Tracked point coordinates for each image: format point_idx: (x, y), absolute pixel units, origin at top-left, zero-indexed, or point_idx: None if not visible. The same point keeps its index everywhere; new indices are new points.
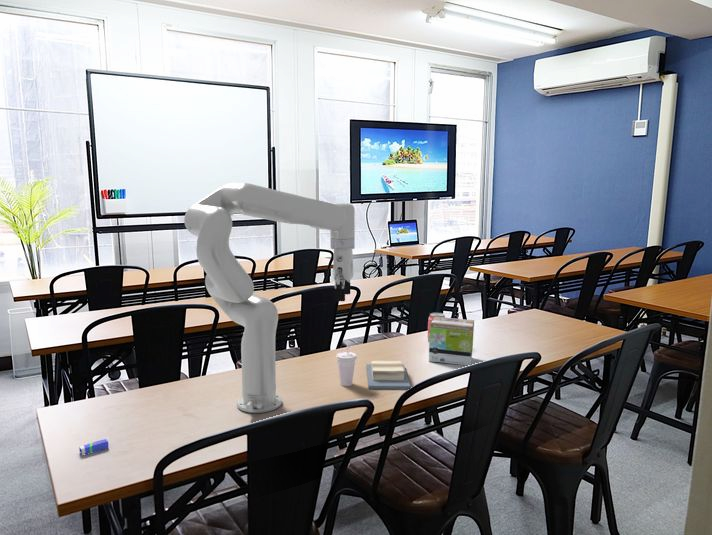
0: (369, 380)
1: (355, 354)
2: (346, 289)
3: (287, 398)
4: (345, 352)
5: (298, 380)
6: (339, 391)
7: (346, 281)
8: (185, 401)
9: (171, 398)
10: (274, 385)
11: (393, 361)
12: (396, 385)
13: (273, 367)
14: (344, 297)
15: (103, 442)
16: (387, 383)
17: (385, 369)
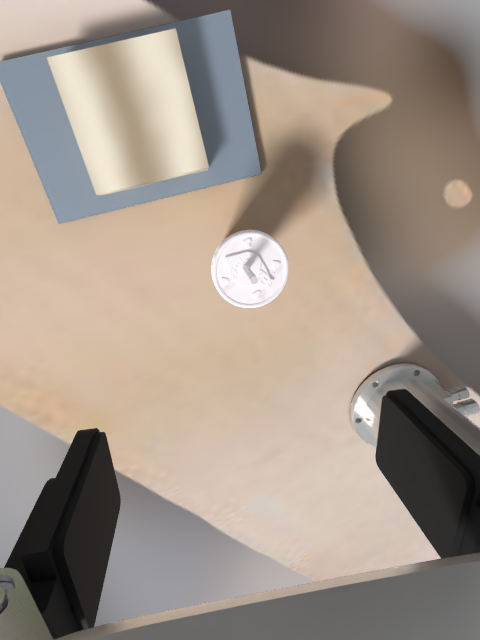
0: (214, 180)
1: (237, 237)
2: (99, 496)
3: (356, 364)
4: (223, 282)
5: (241, 381)
6: (293, 257)
7: (56, 606)
8: (390, 520)
9: (379, 544)
10: (431, 399)
11: (68, 95)
12: (237, 70)
13: (471, 430)
14: (423, 408)
15: None
16: (225, 109)
17: (178, 118)
